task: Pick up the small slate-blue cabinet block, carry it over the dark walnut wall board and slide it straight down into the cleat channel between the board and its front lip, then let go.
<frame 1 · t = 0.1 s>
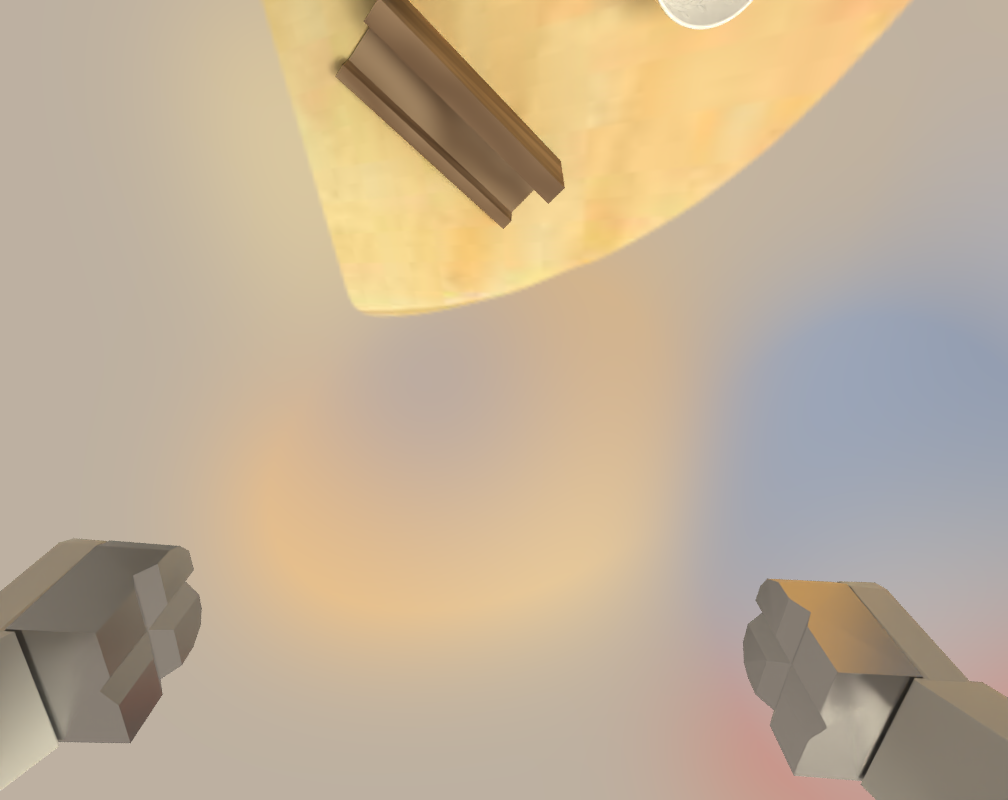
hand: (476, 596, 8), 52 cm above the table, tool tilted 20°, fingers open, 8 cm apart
cleat board: (453, 120, 51), on the table
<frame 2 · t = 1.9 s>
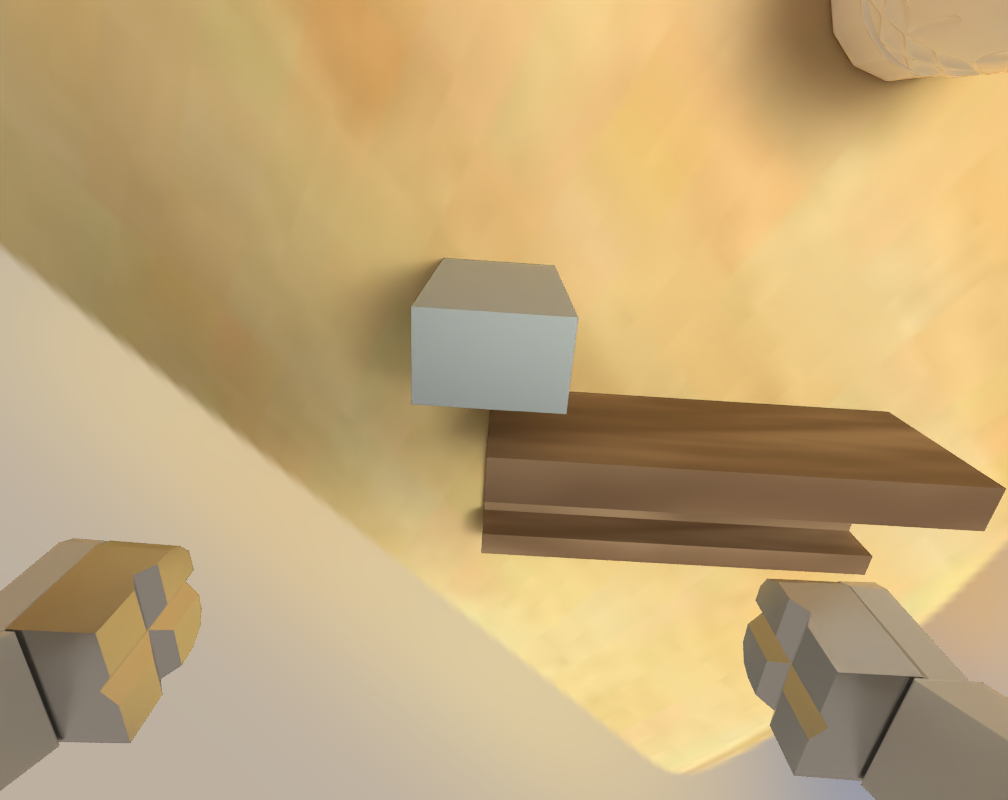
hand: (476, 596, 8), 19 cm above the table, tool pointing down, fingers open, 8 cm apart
cleat board: (674, 476, 29), on the table
cabinet block: (497, 296, 25), on the table
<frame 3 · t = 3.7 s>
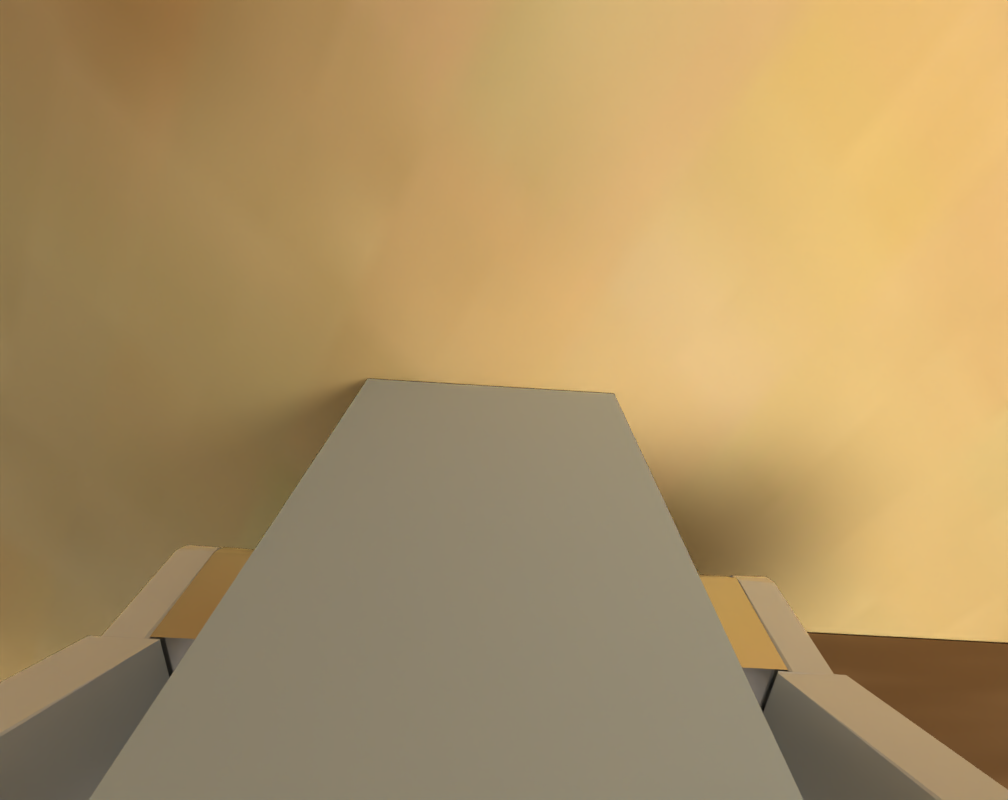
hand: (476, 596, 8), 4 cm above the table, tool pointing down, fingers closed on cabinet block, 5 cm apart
cleat board: (824, 755, 15), on the table
cabinet block: (487, 455, 12), on the table, touching gripper
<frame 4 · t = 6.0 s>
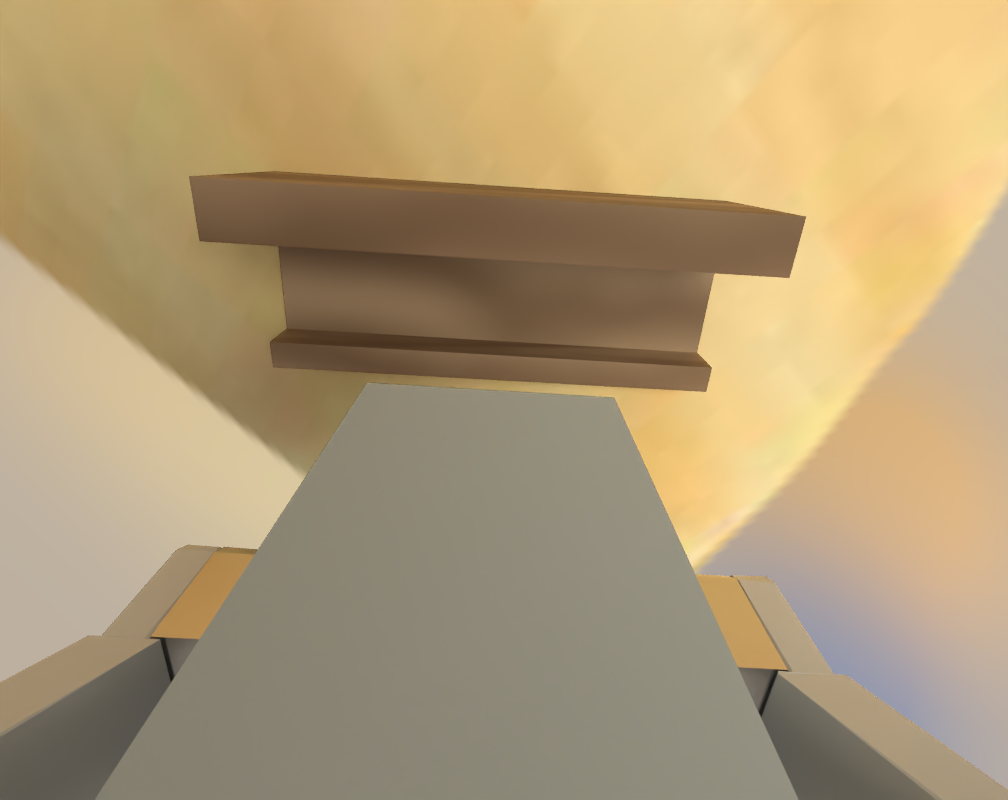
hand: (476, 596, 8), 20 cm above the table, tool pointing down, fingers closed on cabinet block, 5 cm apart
cleat board: (496, 287, 26), on the table
cabinet block: (487, 459, 12), point 16 cm above the table, touching gripper
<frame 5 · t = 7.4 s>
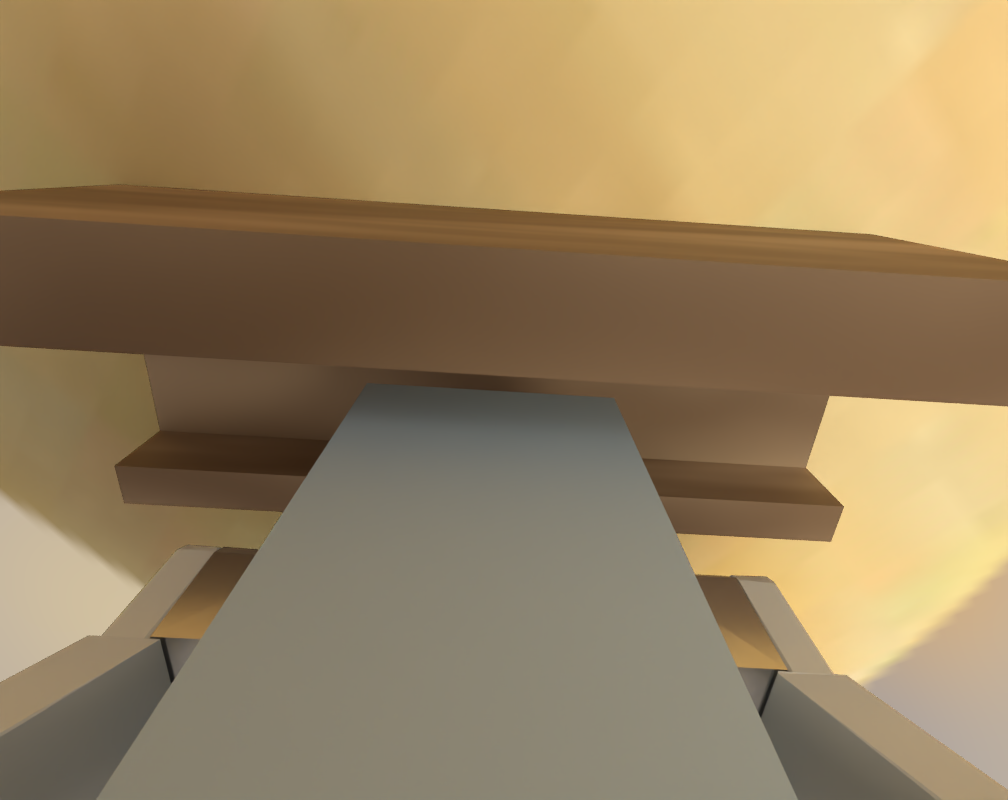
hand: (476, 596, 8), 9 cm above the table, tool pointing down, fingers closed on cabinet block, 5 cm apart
cleat board: (491, 369, 16), on the table
cabinet block: (487, 459, 12), point 5 cm above the table, touching gripper
when the fingers open (6 cm above the table, at t = 8.5 s): cabinet block drops 1 cm, resting on cleat board.
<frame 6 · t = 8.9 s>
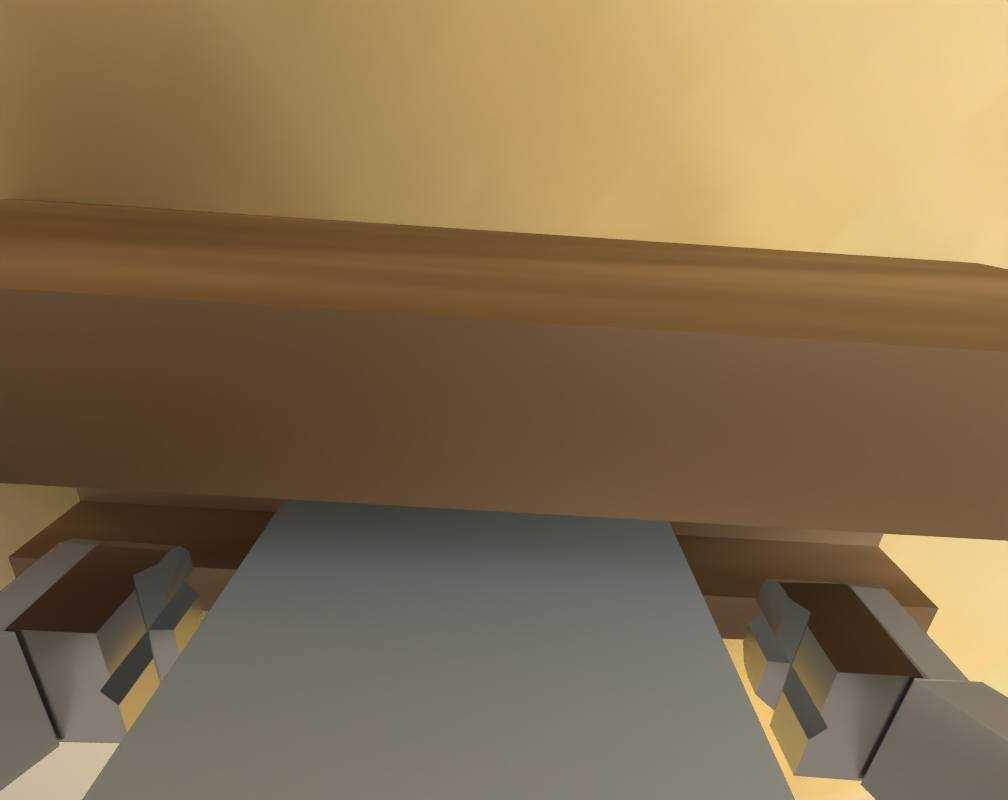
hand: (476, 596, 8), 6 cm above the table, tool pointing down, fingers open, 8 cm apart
cleat board: (490, 427, 13), on the table
cabinet block: (486, 434, 13), resting on cleat board
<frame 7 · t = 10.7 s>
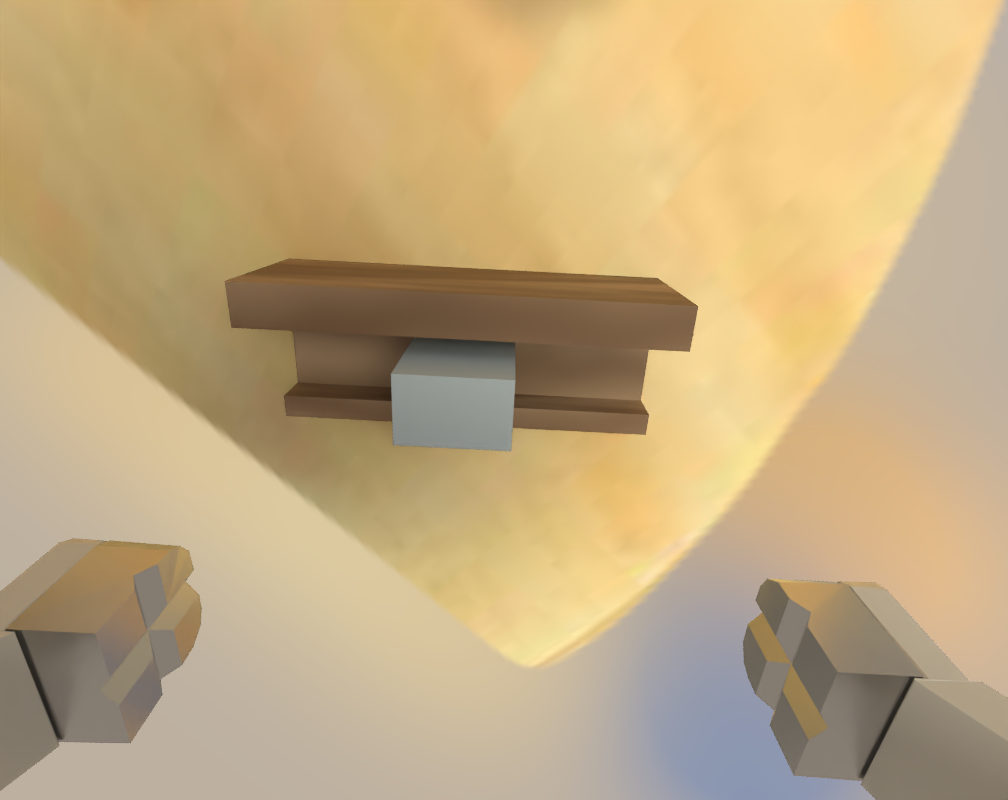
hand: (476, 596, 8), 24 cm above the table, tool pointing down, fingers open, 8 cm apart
cleat board: (471, 348, 31), on the table
cabinet block: (469, 350, 31), resting on cleat board
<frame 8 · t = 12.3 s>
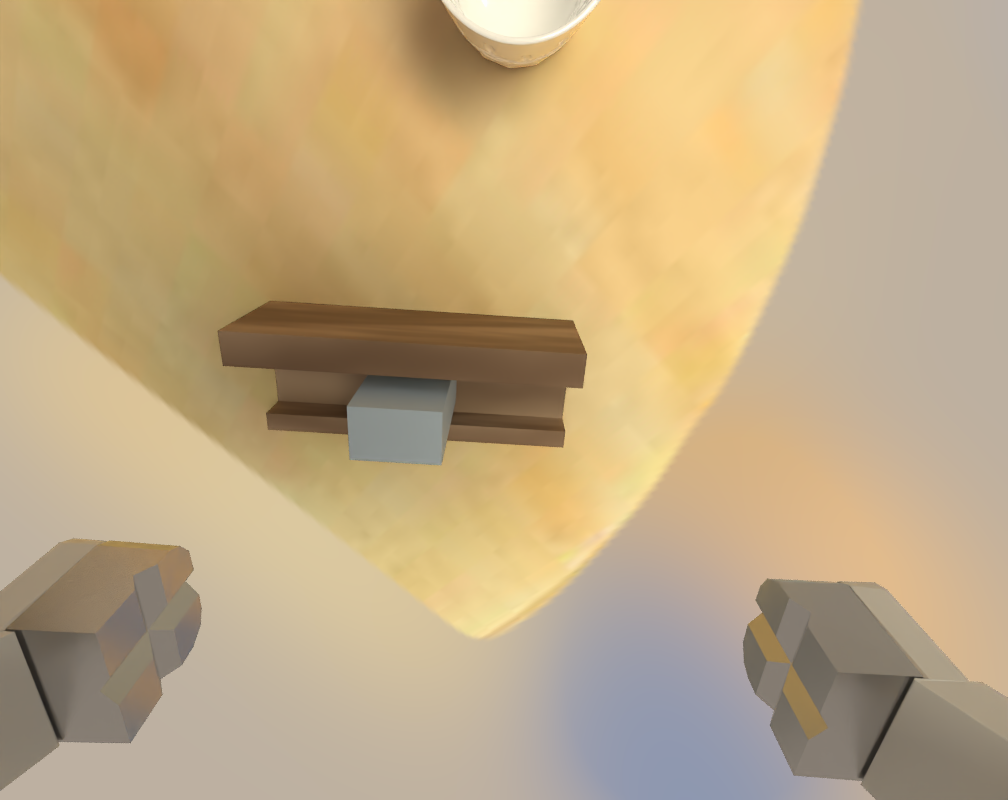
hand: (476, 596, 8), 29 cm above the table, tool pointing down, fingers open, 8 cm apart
cleat board: (422, 374, 38), on the table
cabinet block: (420, 376, 37), resting on cleat board
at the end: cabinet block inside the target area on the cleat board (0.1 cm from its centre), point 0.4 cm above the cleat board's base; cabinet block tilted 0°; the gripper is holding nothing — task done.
